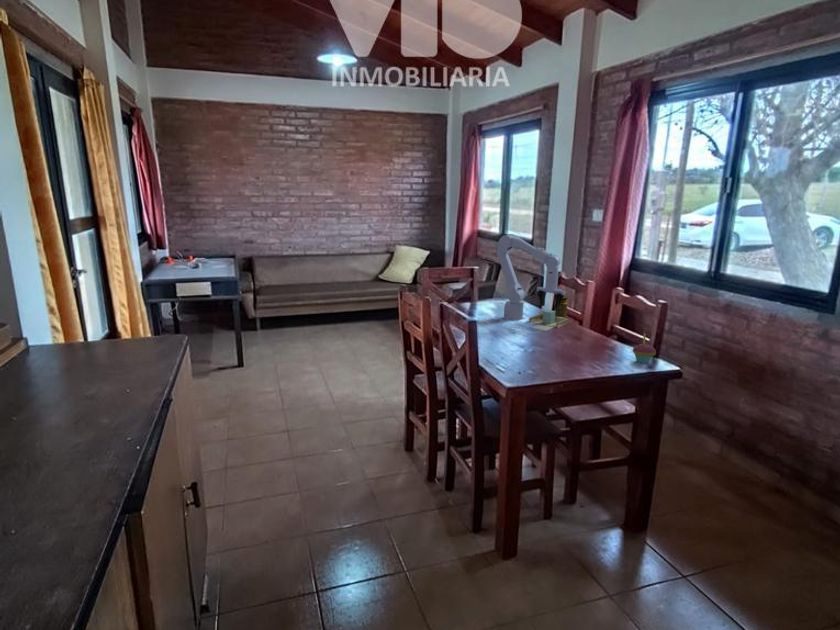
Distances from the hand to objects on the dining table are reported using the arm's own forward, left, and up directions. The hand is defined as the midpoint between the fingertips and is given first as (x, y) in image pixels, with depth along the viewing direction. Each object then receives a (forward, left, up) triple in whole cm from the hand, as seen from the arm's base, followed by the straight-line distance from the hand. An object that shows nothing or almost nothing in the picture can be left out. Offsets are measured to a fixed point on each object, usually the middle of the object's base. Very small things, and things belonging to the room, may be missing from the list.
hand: (549, 307), depth 259 cm
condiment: (0, +11, -9) cm, 15 cm away
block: (0, 0, -8) cm, 8 cm away
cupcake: (+55, -27, -9) cm, 62 cm away
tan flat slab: (0, 0, -9) cm, 9 cm away
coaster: (+2, -11, -9) cm, 14 cm away
